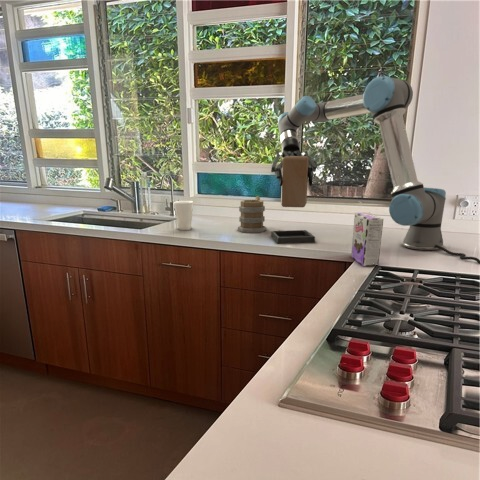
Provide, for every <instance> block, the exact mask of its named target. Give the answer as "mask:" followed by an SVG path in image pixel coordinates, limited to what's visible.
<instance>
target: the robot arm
mask: <svg viewBox="0 0 480 480" xmlns="http://www.w3.org/2000/svg"><path fill="white" fill-rule="evenodd" d="M364 89H365V90H364V91H363V93H362V94H358V95H353V96H348V97H342V98H338V99H333V100H328V101H324V102H316V101H315V100H314V99H313V98H312V97H311V96H309V95H303V96H302V97H301V98H300V99H299V100H298V101H297V102H296V103H295V104H294V106H293V107H292V108H291V109H290V110H289V111H285V112H283V113H281V114H280V115H279V116H278V117H277V128H278V133H279V139H280V146H281V147H280V148H281V152H280V151H278V150H276V151H275V156H274V157H275V158H274V160H273V163H272V164H271V168H270V172H271V173H274V175H275V178H276V179H278V182H279V187H282V183H283V180H282V166H283V158H284V157H286V156H307V157H308V158H309V162H308V184H309V187H311V186H312V185H313V178H314V175H315V174H314V173H315V172H316V170H317V168H318V167H317V165H316V163H315V161H313V159H312V158H311V156H310V155H309V152H308V150H305V151H304V152H302V151H301V150H300V149H301V148H300V143H299V138H298V129H299V128H300V127H301V126H302V125H303V124H304V123H305V122H318V123H327V122H329V121H331V120H337V119H343V118H349V117H354V116H356V117H357V116H362V115H368V114H371V117H372V120H373V123H374V124H377V125H378V127H379V132H380V135H381V139H382V140H381V141H382V143H383V149H384V152H385V156H386V161H387V165H388V169H389V174H390V178H391V183H392V186H393V188H392V191H391V192H390V197H391V201H390V203H389V205H388V212H389V216H390V218H391V219H392V221H394V223H396V224H397V225H400V226H404V227H406V226H409V228H408V229H407V231H406V234H405V236H404V238H403V241H402V246H403V247H404V248H406V249H411V250H415V251H416V250H417V251H443V252H445V253H446V254H447V255H448V254H449V255H450V256H454V257H455V256H456V257H457V256H458V257H459V258H460V260H467V261H468V260H472V261H475V262H476V263H477V264H478V265H480V259H479V258H477V257H476V256H467V255H466V254H465V253H463V252H453V251H450V250H448V249H447V248H445V247H444V238H443V234H442V224H443V223H442V222H443V216H444V212H445V211H444V210H445V204H446V200H447V197H446V196H447V191H446V190H445V189H442V188H436V187H435V188H434V187H424V183H422V182H421V181H419V180H418V177H417V171H416V168H415V164H414V159H413V155H412V150H411V145H410V142H409V137H408V133H407V129H406V123H405V120H404V115H405V113H406V111H407V108H408V107H409V106H410V105H411V103H412V101H413V98H414V91H413V87H412V85H411V84H410V83H409V81H407V80H405V79H403V78H396V77H390V76H388V75H384V76H377V77H375V78H373V79H372V80H370V81H369V82H368V84H367V85H366V87H365V88H364ZM280 158H282V160H281V161H280V162H279V159H280ZM278 162H279V164H278ZM277 164H278V165H277Z"/></svg>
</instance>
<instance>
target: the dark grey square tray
mask: <svg viewBox="0 0 480 480" xmlns="http://www.w3.org/2000/svg"><path fill="white" fill-rule="evenodd" d="M270 237H271V238H272V239H273V240H274V242H275V243H276V244H277V245H279V244H283V245H284V244H313V243H315V241H316V236H314V235H313V234H312V233H311V232H309V231H308V230H306V229H300V230H297V229H296V230H295V229H294V230H271V231H270Z"/></svg>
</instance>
